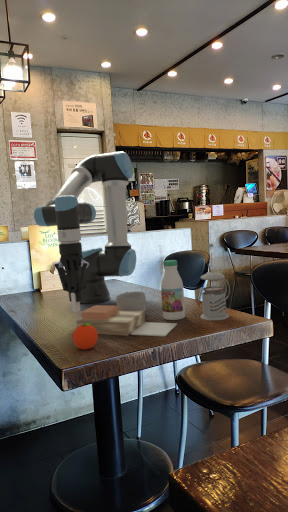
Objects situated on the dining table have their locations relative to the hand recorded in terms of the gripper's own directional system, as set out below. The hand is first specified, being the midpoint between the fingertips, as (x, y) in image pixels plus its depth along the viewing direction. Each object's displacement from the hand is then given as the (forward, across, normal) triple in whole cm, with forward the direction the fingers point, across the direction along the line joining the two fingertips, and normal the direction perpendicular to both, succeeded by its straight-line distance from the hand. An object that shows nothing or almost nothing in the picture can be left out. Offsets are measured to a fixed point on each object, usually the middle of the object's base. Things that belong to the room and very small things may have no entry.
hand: (76, 310), depth 127 cm
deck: (+5, +13, 0) cm, 14 cm away
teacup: (+6, +13, +16) cm, 22 cm away
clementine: (+6, +15, -19) cm, 25 cm away
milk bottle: (+6, +30, +14) cm, 34 cm away
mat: (+5, +28, 0) cm, 29 cm away
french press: (+6, +44, +18) cm, 48 cm away
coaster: (+1, +9, 0) cm, 9 cm away
